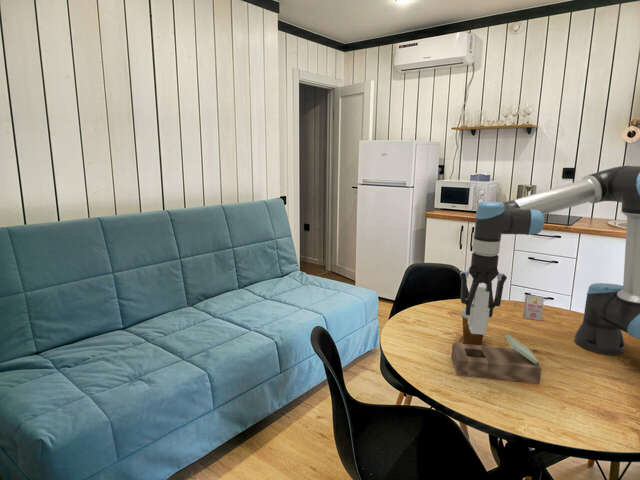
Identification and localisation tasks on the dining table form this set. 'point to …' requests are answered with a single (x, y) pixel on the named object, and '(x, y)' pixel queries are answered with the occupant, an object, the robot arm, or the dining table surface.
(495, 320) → the dining table surface
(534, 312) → the tea bag
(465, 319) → the disposable coffee cup
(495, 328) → the dining table surface
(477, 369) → the walnut block
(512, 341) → the plate
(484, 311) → the steel pin
